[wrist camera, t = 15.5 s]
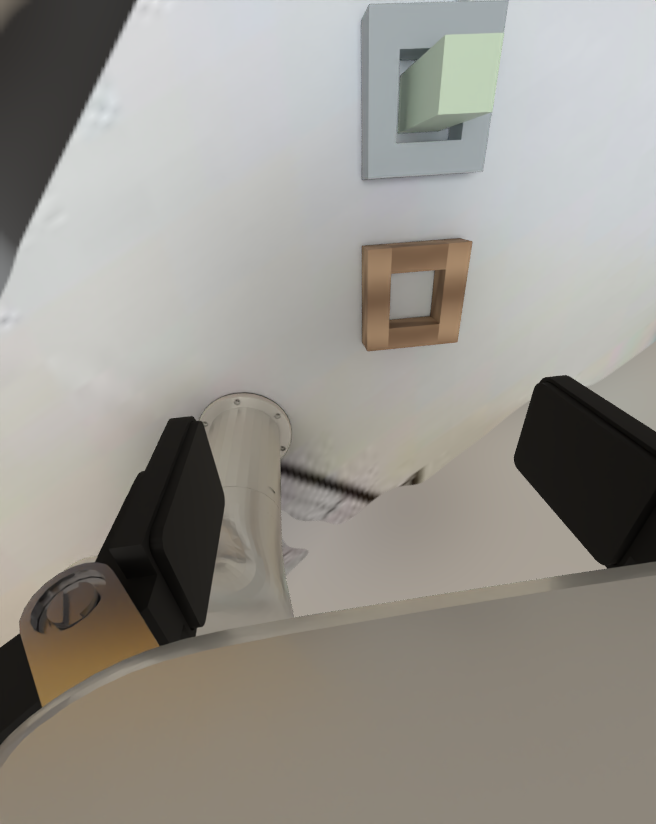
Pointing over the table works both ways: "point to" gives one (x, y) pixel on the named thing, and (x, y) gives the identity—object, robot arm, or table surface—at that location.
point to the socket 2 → (446, 296)
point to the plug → (450, 83)
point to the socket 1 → (380, 53)
